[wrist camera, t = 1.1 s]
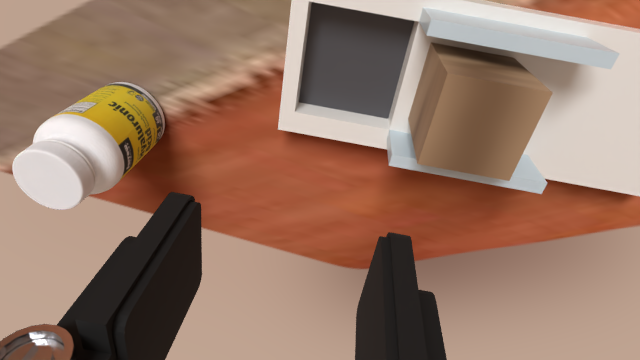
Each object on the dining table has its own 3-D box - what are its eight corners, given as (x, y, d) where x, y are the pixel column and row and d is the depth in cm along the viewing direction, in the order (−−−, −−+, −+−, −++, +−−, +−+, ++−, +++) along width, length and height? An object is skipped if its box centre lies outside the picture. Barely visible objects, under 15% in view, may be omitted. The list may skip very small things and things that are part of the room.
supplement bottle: (179, 139, 31) (112, 214, 23) (119, 150, 33) (35, 226, 24) (148, 72, 29) (59, 130, 21) (84, 87, 30) (-24, 148, 22)
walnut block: (513, 57, 24) (552, 92, 19) (482, 132, 27) (509, 180, 21) (430, 42, 24) (447, 73, 19) (408, 118, 27) (417, 163, 21)
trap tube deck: (725, 44, 24) (810, 72, 19) (630, 182, 30) (679, 229, 25) (300, -34, 24) (284, -24, 20) (283, 117, 30) (267, 153, 25)
